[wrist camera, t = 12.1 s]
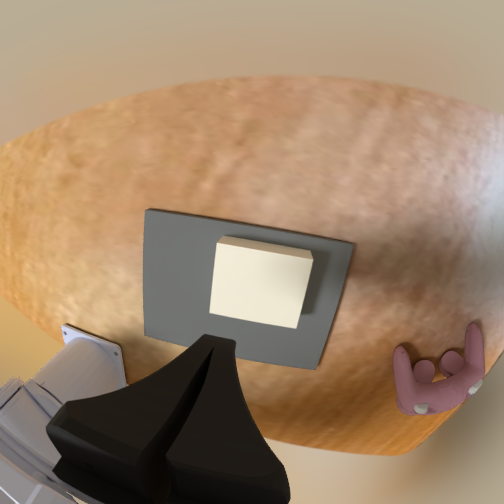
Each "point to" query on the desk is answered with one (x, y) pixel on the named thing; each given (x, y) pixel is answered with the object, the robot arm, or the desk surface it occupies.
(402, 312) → the desk surface
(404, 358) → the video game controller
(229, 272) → the block
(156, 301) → the mat
